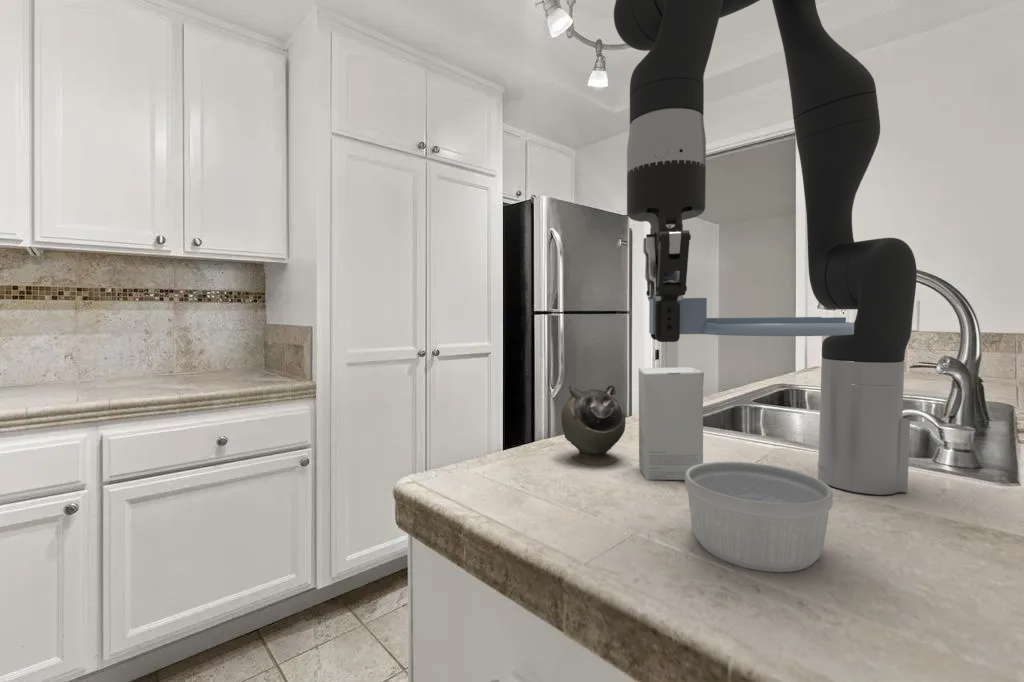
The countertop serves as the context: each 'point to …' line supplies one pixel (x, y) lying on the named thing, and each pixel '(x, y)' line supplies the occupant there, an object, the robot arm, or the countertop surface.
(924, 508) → the countertop surface
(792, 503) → the ramekin
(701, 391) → the skincare box
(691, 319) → the lid
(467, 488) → the countertop surface
